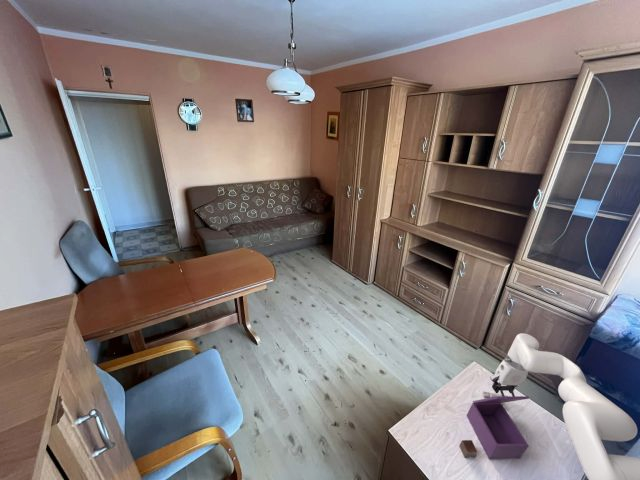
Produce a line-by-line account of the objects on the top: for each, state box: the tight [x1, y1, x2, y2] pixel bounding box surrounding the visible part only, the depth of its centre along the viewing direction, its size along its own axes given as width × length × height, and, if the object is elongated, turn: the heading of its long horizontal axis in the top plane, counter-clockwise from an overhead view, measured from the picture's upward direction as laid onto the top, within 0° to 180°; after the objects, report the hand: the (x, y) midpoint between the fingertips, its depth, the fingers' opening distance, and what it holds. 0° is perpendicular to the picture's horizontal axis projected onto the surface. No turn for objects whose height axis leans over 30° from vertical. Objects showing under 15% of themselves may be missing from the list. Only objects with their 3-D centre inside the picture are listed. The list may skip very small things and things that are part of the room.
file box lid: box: [472, 385, 530, 404], centre depth 117 cm, size 19×14×5 cm
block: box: [458, 439, 478, 458], centre depth 113 cm, size 4×4×4 cm
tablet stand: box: [482, 391, 506, 406], centre depth 132 cm, size 9×8×8 cm
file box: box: [466, 402, 530, 460], centre depth 118 cm, size 18×14×10 cm
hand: (501, 389), depth 114 cm, fingers closed on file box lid, 5 cm apart
